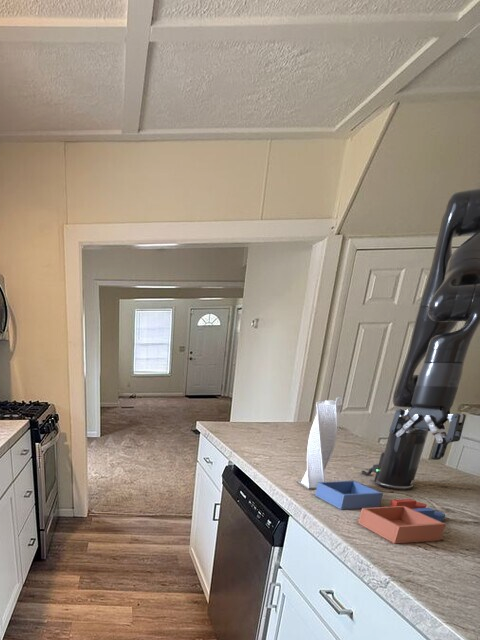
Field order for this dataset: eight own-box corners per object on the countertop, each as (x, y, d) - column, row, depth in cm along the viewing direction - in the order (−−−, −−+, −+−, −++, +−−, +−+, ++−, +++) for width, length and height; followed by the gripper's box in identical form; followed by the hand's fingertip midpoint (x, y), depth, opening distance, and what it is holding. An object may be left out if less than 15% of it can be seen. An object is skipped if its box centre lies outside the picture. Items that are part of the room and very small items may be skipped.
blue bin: (315, 495, 119) (317, 482, 118) (350, 493, 121) (353, 480, 119) (340, 509, 109) (344, 495, 107) (379, 507, 110) (383, 493, 108)
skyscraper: (333, 490, 123) (354, 396, 112) (307, 490, 123) (325, 396, 113) (319, 482, 131) (338, 393, 120) (294, 482, 131) (311, 393, 120)
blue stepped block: (414, 523, 100) (417, 512, 99) (402, 517, 103) (405, 507, 102) (447, 521, 101) (450, 510, 100) (434, 515, 104) (437, 505, 103)
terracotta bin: (358, 523, 100) (361, 508, 99) (399, 520, 101) (404, 505, 100) (394, 543, 90) (399, 526, 88) (440, 540, 91) (446, 523, 89)
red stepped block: (397, 513, 106) (400, 503, 105) (386, 508, 109) (389, 498, 108) (428, 511, 107) (431, 501, 106) (416, 506, 110) (419, 496, 109)
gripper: (485, 386, 85) (460, 461, 90) (416, 384, 98) (398, 450, 103) (461, 385, 83) (437, 462, 88) (394, 383, 95) (376, 451, 101)
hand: (416, 455), depth 95 cm, fingers open, 8 cm apart
